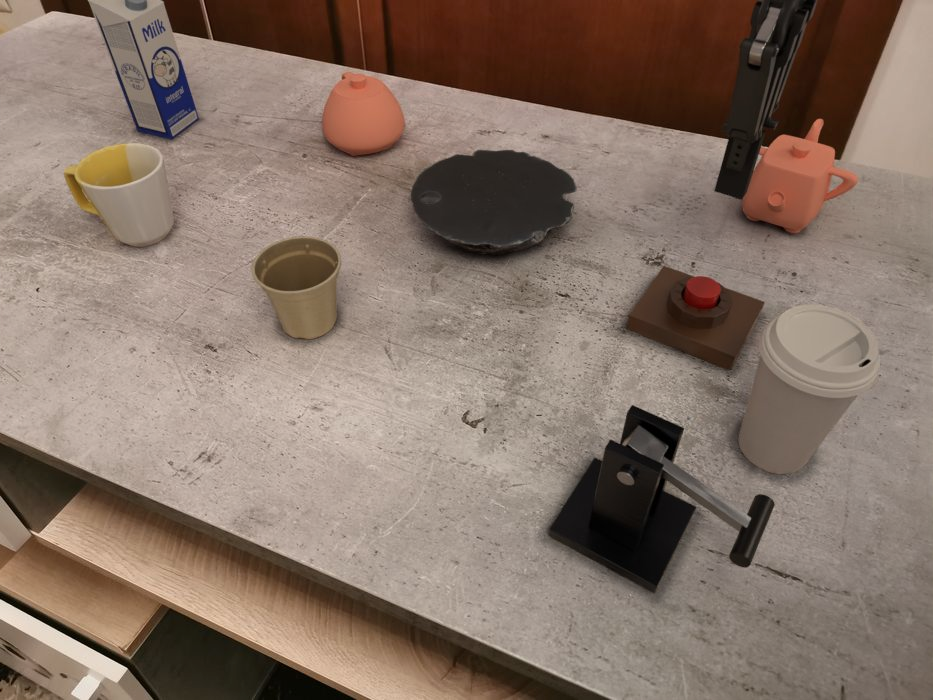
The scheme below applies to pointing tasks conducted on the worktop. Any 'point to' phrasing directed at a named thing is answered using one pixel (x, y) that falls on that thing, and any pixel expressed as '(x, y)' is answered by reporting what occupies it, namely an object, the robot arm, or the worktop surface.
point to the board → (493, 200)
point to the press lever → (709, 498)
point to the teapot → (794, 181)
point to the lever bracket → (627, 507)
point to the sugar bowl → (362, 115)
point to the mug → (125, 192)
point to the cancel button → (702, 292)
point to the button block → (695, 319)
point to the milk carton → (147, 64)
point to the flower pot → (300, 283)
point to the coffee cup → (805, 384)
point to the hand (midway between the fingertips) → (730, 191)
